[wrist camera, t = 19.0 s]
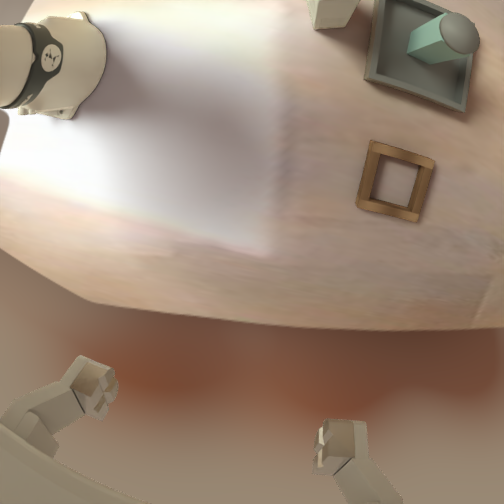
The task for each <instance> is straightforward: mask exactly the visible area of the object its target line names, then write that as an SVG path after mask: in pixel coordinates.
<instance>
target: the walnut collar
mask: <svg viewBox="0 0 504 504" xmlns="http://www.w3.org/2000/svg"><path fill="white" fill-rule="evenodd" d="M380 154H384V155H388V156H391V157H395V158H398V159H401V160H405V161H408V162H411V163H414V164H417V165H419V169H418V173H417V177H416V180H415V184H414V187H413V191H412V194H411V198H410V201H409V204H408V208H407V207H404V206H400V205H396V204H392V203H389V202H385V201H381V200H377V199H373V198H369V197H370V194H371V190H372V186H373V182H374V178H375V174H376V170H377V166H378V162H379V158H380ZM434 163H435V161H434V160H432V159H430V158H428V157H425V156H422V155H419V154H416V153H412V152H409V151H406V150H403V149H400V148H396V147H393V146H390V145H386V144H383V143H379V142H376V141H372V140H370V144H369V148H368V153H367V157H366V162H365V166H364V170H363V174H362V178H361V182H360V186H359V190H358V194H357V198H356V202H355V204H356V206H357V208H361V209H365V210H369V211H373V212H377V213H382V214H386V215H390V216H394V217H397V218H401V219H405V220H409V221H413V222H417V220H418V217H419V214H420V211H421V208H422V204H423V201H424V198H425V195H426V191H427V188H428V184H429V181H430V177H431V174H432V170H433V166H434Z"/></svg>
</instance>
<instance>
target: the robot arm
mask: <svg viewBox="0 0 504 504" xmlns="http://www.w3.org/2000/svg"><path fill="white" fill-rule="evenodd" d="M105 63H106V44H105V40H104V37H103V35H102V33H101V32H100V31H99V29H98V28H96V27H95V26H93V25H92V24H91V23H89V22H88V19H87V17H86V15H85V13H84V12H75V13H73V14H71V15H69V16H67V17H53V16H49V17H46V18H45V19H44V20H42V21H40V22H38V23H37V24H36V23H31V22H26V23H18V24H15V25H0V108H1V109H13V108H17V107H18V115H28V114H36V113H38V114H43V115H47V116H52V117H56V118H60V119H65V120H66V119H71V118H72V117H73V115H74V114H75V112H76V110H77V108H78V106H79V105H80V103H81V102H82V101H84V100H85V99H86V98H87V97H88V96H89V95H90V94H91V93H92V92H93V90H94V89H95V88H96V86H97V84H98V83H99V81H100V79H101V76H102V74H103V71H104V67H105ZM62 110H63V113H62ZM114 375H115V372H114V369H113V368H111V367H108V366H106V365H103V364H101V363H98V362H95V361H93V360H91V359H89V358H86V357H84V356H79V357H77V358H76V360H75V361H74V363H73V364H72V365H71V366H70V368H69V369H68V371H67V372H66V373H65V375H64V376H63V377H62V379H61V380H60V382H54V383H52V384H49V385H47V386H44V387H42V388H40V389H38V390H35V391H33V392H31V393H28V394H26V395H24V396H21V397H19V398H17V399H14V400H13V401H12V403H11V404H10V406H9V407H8V408H7V410H6V411H5V413H4V414H3V416H2V417H1V419H0V504H151V503H148V502H145V501H142V500H140V499H137V498H135V497H132V496H129V495H127V494H124V493H122V492H120V491H117V490H115V489H112V488H110V487H108V486H106V485H103V484H101V483H99V482H97V481H95V480H93V479H91V478H89V477H87V476H85V475H82V474H81V473H79V472H77V471H75V470H73V469H71V468H69V467H67V466H66V465H64V464H62V463H60V462H59V461H57V460H55V459H53V457H54V455H55V454H56V452H57V450H58V448H59V444H58V442H57V441H56V440H55V438H54V437H53V436H52V435H53V434H55V433H56V432H58V431H60V430H61V429H63V428H65V427H66V426H68V425H70V424H71V423H73V422H74V421H76V420H78V419H79V418H81V417H83V416H84V415H85V414H86V415H88V416H91V417H93V418H95V419H98V420H100V421H103V419H104V417H105V416H106V413H107V412H108V410H109V407H108V404H109V403H110V402H113V401H114V399H115V397H116V395H117V391H118V382H117V380H116V379H115V378H114V377H113V376H114ZM314 451H315V452H316V454H317V455H316V456H315V458H314V459H313V471H312V474H319V475H331V476H333V478H334V479H335V481H336V483H337V485H338V487H339V488H340V490H341V492H342V494H343V496H344V497H345V499H346V501H347V502H348V504H403V499H402V497H401V496H400V495H399V493H398V492H397V490H396V489H395V488H394V487H393V485H392V484H391V483H390V481H389V480H388V479H387V477H386V476H385V475H384V474H383V472H382V471H381V470H380V468H379V467H378V466H377V464H376V463H375V462H374V460H373V459H369V454H368V453H369V452H368V439H367V427H366V423H365V422H364V421H351V420H338V419H325V421H324V422H323V427H322V428H320V429H319V430H318V432H317V434H316V437H315V441H314Z"/></svg>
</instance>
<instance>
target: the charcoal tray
mask: <svg viewBox="0 0 504 504" xmlns="http://www.w3.org/2000/svg"><path fill="white" fill-rule="evenodd" d="M445 12H446V13H448V14H449V13H453V12H451V11H449V10H447V9H444V8H442V7H440V6H438V5H435V4H433V3H431V2H428V1H426V0H375V1H374V10H373V18H372V27H371V34H370V42H369V49H368V55H367V62H366V68H365V75H364V80H367V81H371V82H375V83H378V84H381V85H385V86H388V87H391V88H394V89H397V90H400V91H403V92H406V93H409V94H412V95H415V96H418V97H420V98H423V99H426V100H428V101H431V102H434V103H436V104H439V105H441V106H444V107H446V108H448V109H451V110H453V111H457V112H464V113H465V108H466V103H467V97H468V90H469V83H470V76H471V68H472V58H473V53H471V54H470V56H469V57H463V58H458V59H453V60H449V61H444V62H439V63H435V64H431V65H430V64H428V63H426V62H424V61H421V60H419V59H417V58H415V57H413V56H410V55H408V54H407V49H408V45H409V40H410V35H411V32H412V31H413V30H415V29H417V28H418V27H420V26H422V25H424V24H425V23H427V22H429V21H431V20H433V19H434V18H436V17H438V16H440V15H442V14H444V13H445ZM472 23H473V22H472ZM473 24H474V26H475V23H473Z"/></svg>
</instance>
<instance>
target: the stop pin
mask: <svg viewBox="0 0 504 504" xmlns="http://www.w3.org/2000/svg"><path fill="white" fill-rule="evenodd" d="M479 44H480V38H479V34H478V31H477V29H476V27H475V26H474V24H473V23H472V22H471V21H470V20H469V19H468V18H467V17H465V16H464V15H462V14H459V13H449V14H448V13H446V12H445V13H444V14H442V15H440V16H438V17H436V18H434V19H433V20H431V21H429V22H427V23H425V24H424V25H422V26H420V27H418V28H417V29H415V30H413V31H412V32H411V35H410V40H409V45H408V49H407V54H408V55H410V56H413V57H415V58H417V59H419V60H421V61H424V62H426V63H428V64H430V65H431V64H435V63H439V62H444V61H449V60H453V59H458V58H463V57H469V56H470V54H471V53H474V52H475V51H476V50H477V49H478V47H479Z"/></svg>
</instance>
